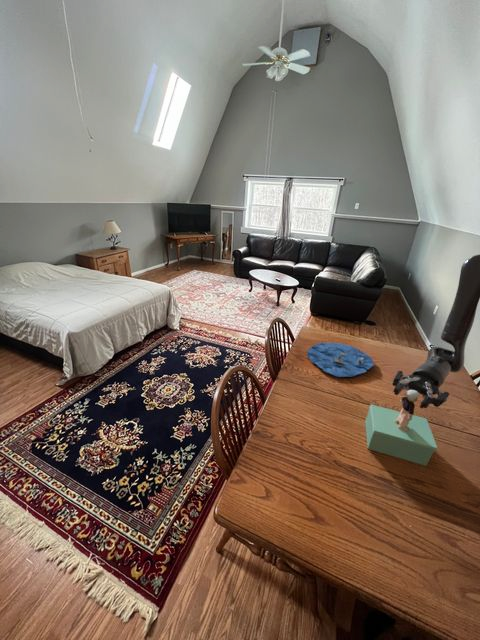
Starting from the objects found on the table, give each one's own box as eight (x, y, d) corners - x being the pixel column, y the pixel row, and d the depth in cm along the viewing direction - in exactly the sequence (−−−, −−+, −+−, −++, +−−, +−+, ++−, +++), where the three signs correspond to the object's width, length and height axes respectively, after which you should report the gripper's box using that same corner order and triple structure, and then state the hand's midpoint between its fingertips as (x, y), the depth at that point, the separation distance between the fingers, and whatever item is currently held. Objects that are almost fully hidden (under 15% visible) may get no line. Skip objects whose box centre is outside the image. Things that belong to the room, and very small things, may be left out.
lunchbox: (416, 435, 87) (424, 419, 84) (426, 466, 77) (434, 449, 74) (365, 421, 91) (370, 406, 88) (367, 448, 81) (373, 432, 78)
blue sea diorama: (300, 371, 118) (302, 361, 115) (311, 340, 143) (313, 331, 140) (374, 388, 107) (377, 377, 105) (372, 351, 132) (374, 342, 130)
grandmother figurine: (414, 434, 77) (430, 400, 72) (401, 434, 77) (415, 400, 72) (400, 414, 84) (413, 382, 79) (388, 414, 84) (400, 381, 79)
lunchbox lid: (425, 420, 83) (426, 418, 83) (436, 450, 74) (437, 448, 73) (370, 406, 88) (370, 404, 88) (373, 432, 78) (374, 430, 78)
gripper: (408, 356, 88) (386, 375, 78) (461, 378, 78) (443, 402, 68) (401, 374, 91) (379, 395, 81) (451, 398, 81) (433, 424, 71)
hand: (408, 398), depth 74 cm, fingers open, 6 cm apart
